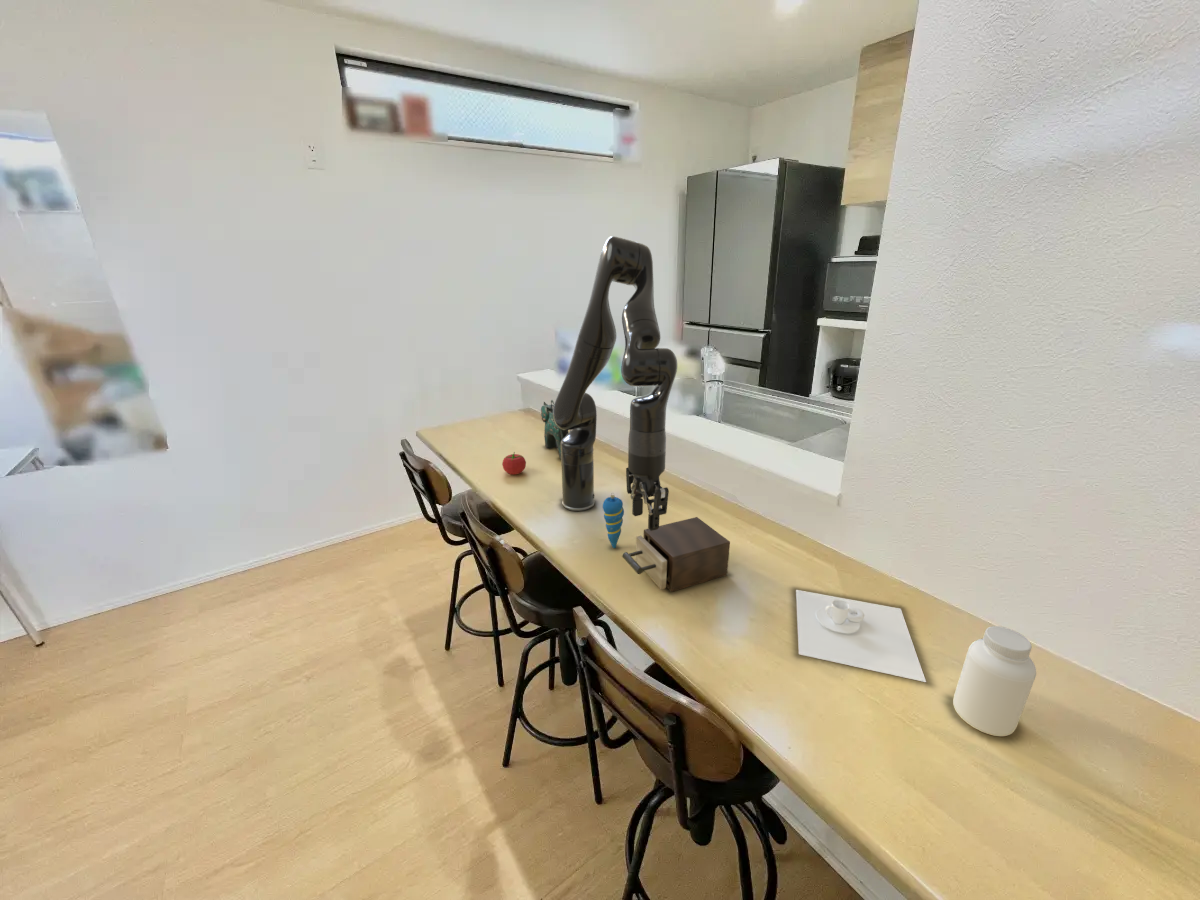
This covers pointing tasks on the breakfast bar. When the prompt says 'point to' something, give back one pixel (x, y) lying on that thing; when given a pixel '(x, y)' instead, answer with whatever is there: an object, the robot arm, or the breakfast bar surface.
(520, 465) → the tomato
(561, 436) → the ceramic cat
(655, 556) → the drawer
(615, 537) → the ornament
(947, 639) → the breakfast bar surface
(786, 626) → the breakfast bar surface
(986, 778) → the breakfast bar surface
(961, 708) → the pill bottle
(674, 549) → the cabinet
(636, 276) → the robot arm
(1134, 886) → the breakfast bar surface
